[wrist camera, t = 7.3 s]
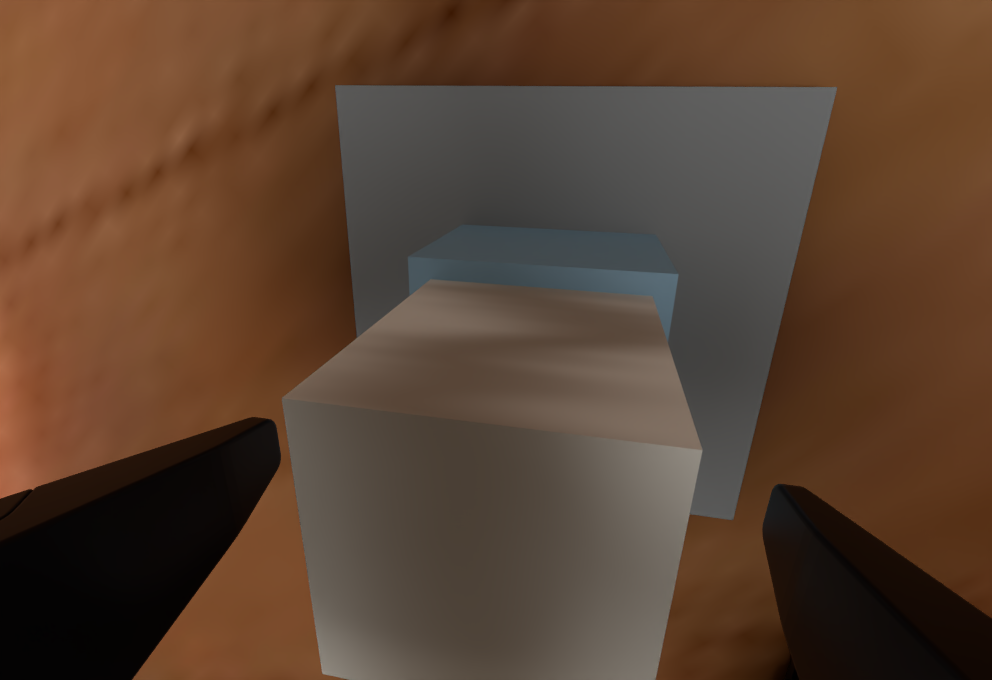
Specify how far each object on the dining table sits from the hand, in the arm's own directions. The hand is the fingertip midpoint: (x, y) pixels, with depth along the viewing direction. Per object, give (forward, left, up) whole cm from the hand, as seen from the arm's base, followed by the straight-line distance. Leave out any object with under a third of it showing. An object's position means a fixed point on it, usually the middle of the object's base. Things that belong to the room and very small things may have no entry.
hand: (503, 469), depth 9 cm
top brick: (0, 0, -4) cm, 4 cm away
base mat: (0, 0, -10) cm, 10 cm away
